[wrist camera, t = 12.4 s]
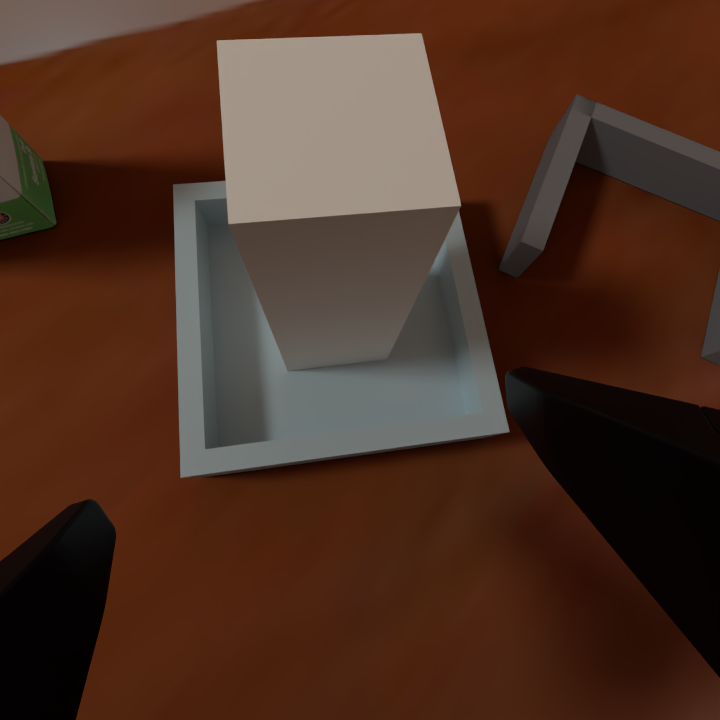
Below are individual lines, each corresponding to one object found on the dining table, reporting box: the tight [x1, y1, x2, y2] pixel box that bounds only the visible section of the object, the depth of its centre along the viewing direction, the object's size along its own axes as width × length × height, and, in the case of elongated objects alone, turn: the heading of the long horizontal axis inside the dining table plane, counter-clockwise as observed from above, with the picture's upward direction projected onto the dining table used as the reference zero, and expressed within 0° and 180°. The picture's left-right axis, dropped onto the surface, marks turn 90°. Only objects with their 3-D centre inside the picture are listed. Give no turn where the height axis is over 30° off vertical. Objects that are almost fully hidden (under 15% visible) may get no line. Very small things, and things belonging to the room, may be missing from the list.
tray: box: [173, 181, 509, 478], centre depth 21 cm, size 14×14×3 cm
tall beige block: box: [217, 34, 461, 371], centre depth 16 cm, size 6×5×12 cm
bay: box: [498, 95, 720, 365], centre depth 24 cm, size 11×13×3 cm
